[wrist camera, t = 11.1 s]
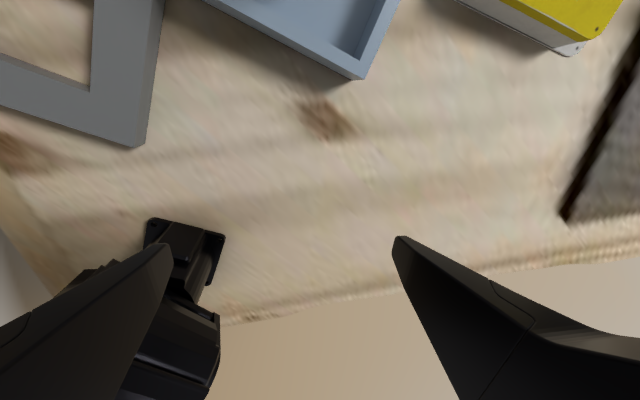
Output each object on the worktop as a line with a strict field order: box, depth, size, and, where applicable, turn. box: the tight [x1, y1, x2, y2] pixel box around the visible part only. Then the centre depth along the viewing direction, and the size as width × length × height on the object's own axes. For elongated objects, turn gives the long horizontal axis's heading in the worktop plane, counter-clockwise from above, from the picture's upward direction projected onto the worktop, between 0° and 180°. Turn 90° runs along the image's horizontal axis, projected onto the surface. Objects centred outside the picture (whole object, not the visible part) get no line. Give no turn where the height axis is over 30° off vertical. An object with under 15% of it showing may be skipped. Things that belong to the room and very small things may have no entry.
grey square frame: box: [0, 0, 165, 148], centre depth 13 cm, size 11×11×2 cm
